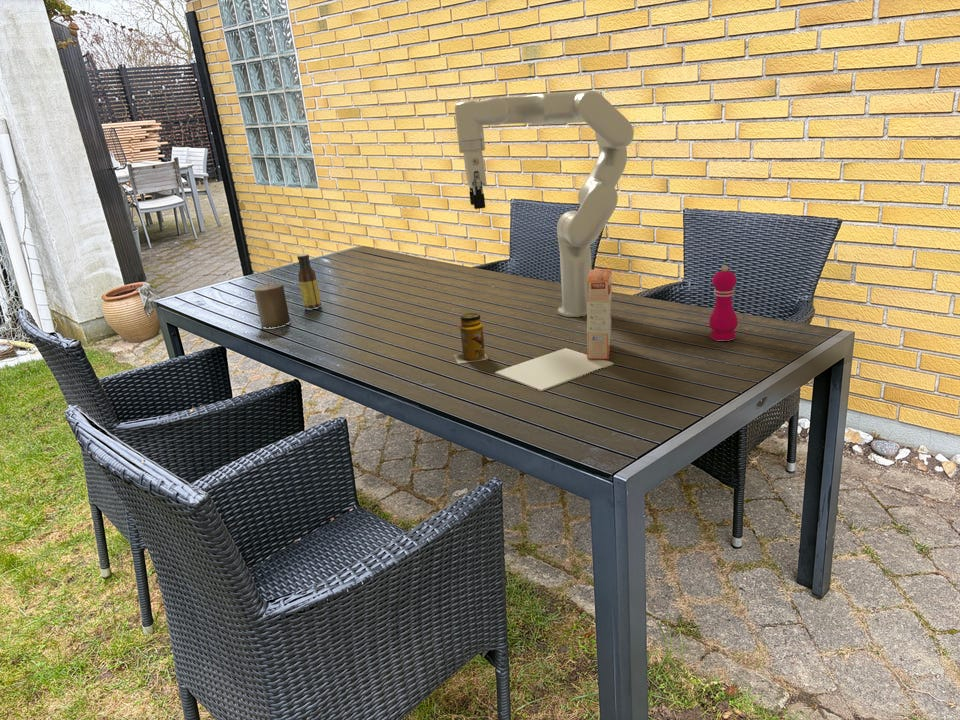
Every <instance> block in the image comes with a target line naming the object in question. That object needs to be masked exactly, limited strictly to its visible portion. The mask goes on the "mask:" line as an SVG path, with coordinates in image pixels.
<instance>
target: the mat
mask: <svg viewBox="0 0 960 720" xmlns="http://www.w3.org/2000/svg"><path fill="white" fill-rule="evenodd" d="M613 365H615V364H614V362H612V361H609V360H607V359H587V353H583V352H579V351H577V350H573V349H569V348H566V347H565V348H561V349H559V350H556V351H553V352H550V353H546V354H545V355H541V356H538V357H535V358H532V359H529V360H526V361H524V362H521V363H517V364H515V365H512V366H511V365H510V366H509V367H506V368H502V369H499V370H497V371H495V372H494V373H495V374H496V375H499V376H501V377H503V378H506V379H508V380H511V381H514V382H516V383H518V384H521V385H524V386H526V387H529V388H532V389H534V390H536V389H537V391H539V392H544V391H546V390H549V389H552V388H554V387H558V386H559V385H562V384H565V383H567V382H570V381H573V380H575V379H579V378H581V377H583V375H584V376H586V374H587V375H588V373H589V374H591V373H590V372H592V373H594V372H593V371H595V370H597V371H599V370H598V369H600V370H602V369H601V368H603V369H606V368H608V367H610V366H613ZM595 372H596V371H595Z"/></svg>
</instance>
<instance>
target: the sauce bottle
mask: <svg viewBox="0 0 960 720" xmlns="http://www.w3.org/2000/svg"><path fill="white" fill-rule="evenodd" d="M296 257H297V261H298V263H299V271H298V274H297V275H298V281H299V287H300V292H301V297H302V302H303V303H302V304H303V306H304V309H305V308H315V307H319V306H321V305H322V300H321V299H322V298H321V295H320V289H319V284H318V279H317V277H316V276H317V275H316V272H315V270H314V269H313V268H312V266H311V262H310V255H309V253H301V254H298V255H297V256H296ZM321 307H322V306H321Z"/></svg>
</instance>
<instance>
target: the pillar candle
mask: <svg viewBox="0 0 960 720" xmlns="http://www.w3.org/2000/svg"><path fill="white" fill-rule="evenodd" d="M253 290H254V295H255V296H254V297H255V301H256V307H257V311H258V316H259V322H260V326H261V328H262V327H266V328H269V327H271V328H272V327H278V326H282V325H284V324H286V323H288V322H289V321H290V322H291V319H290V313H289V307H288V305H287V304H288V303H287V298H286V294H285V287H284V283H281V282H275V283H274V282H273V283H269V282H267V283H266V284H262V285H259V286H256V287H254V288H253Z"/></svg>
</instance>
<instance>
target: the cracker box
mask: <svg viewBox="0 0 960 720" xmlns="http://www.w3.org/2000/svg"><path fill="white" fill-rule="evenodd" d="M611 336H612V270H611V269H606V268H605V269H603V268H602V269H591V270H590V273H589V276H588V279H587V316H586V355H587V359H603V360H610V350H611V342H612V337H611Z"/></svg>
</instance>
